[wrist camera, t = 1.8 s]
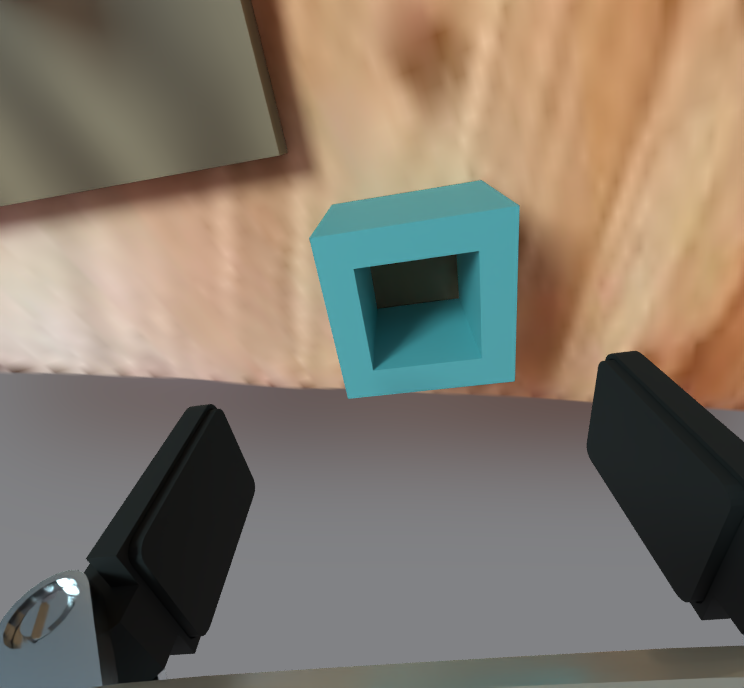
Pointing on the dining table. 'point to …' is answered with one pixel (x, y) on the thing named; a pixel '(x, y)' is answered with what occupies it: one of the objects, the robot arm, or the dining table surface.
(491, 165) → the dining table surface
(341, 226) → the collar
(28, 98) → the post board
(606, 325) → the dining table surface
